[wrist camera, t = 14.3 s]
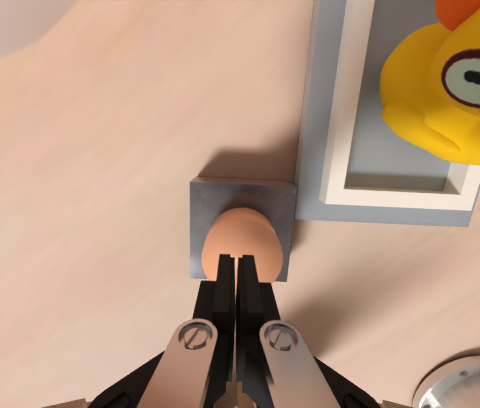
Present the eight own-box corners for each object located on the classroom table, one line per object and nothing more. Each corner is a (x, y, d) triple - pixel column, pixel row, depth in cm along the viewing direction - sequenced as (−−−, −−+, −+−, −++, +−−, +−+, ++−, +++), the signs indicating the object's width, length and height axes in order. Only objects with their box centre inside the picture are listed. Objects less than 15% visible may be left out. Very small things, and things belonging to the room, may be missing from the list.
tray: (529, -46, 16) (594, -89, 13) (451, 221, 21) (486, 233, 18) (321, -62, 16) (339, -109, 13) (290, 214, 21) (299, 225, 18)
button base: (288, 181, 20) (297, 186, 17) (279, 263, 22) (286, 281, 19) (196, 176, 20) (189, 181, 17) (196, 260, 22) (190, 278, 19)
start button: (278, 209, 16) (287, 222, 13) (272, 271, 18) (279, 296, 15) (208, 205, 16) (201, 218, 13) (206, 269, 17) (200, 294, 14)
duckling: (325, 67, 16) (453, -47, 7) (386, 6, 16) (632, -227, 6) (414, 178, 19) (609, 214, 9) (472, 130, 18) (759, 109, 8)
